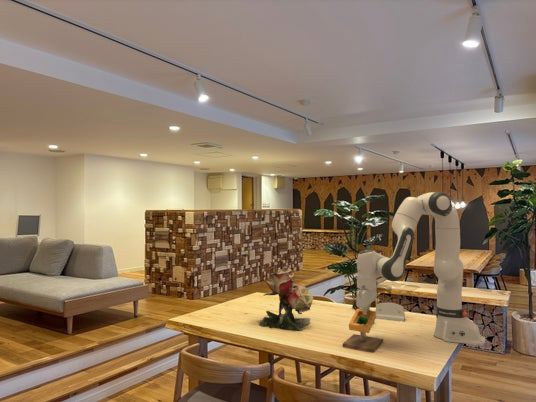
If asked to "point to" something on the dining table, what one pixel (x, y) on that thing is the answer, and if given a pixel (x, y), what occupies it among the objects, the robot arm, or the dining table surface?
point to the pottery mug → (355, 305)
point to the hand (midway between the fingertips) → (366, 313)
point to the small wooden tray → (361, 327)
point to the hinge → (390, 312)
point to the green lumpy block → (362, 320)
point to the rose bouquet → (287, 302)
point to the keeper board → (363, 342)
